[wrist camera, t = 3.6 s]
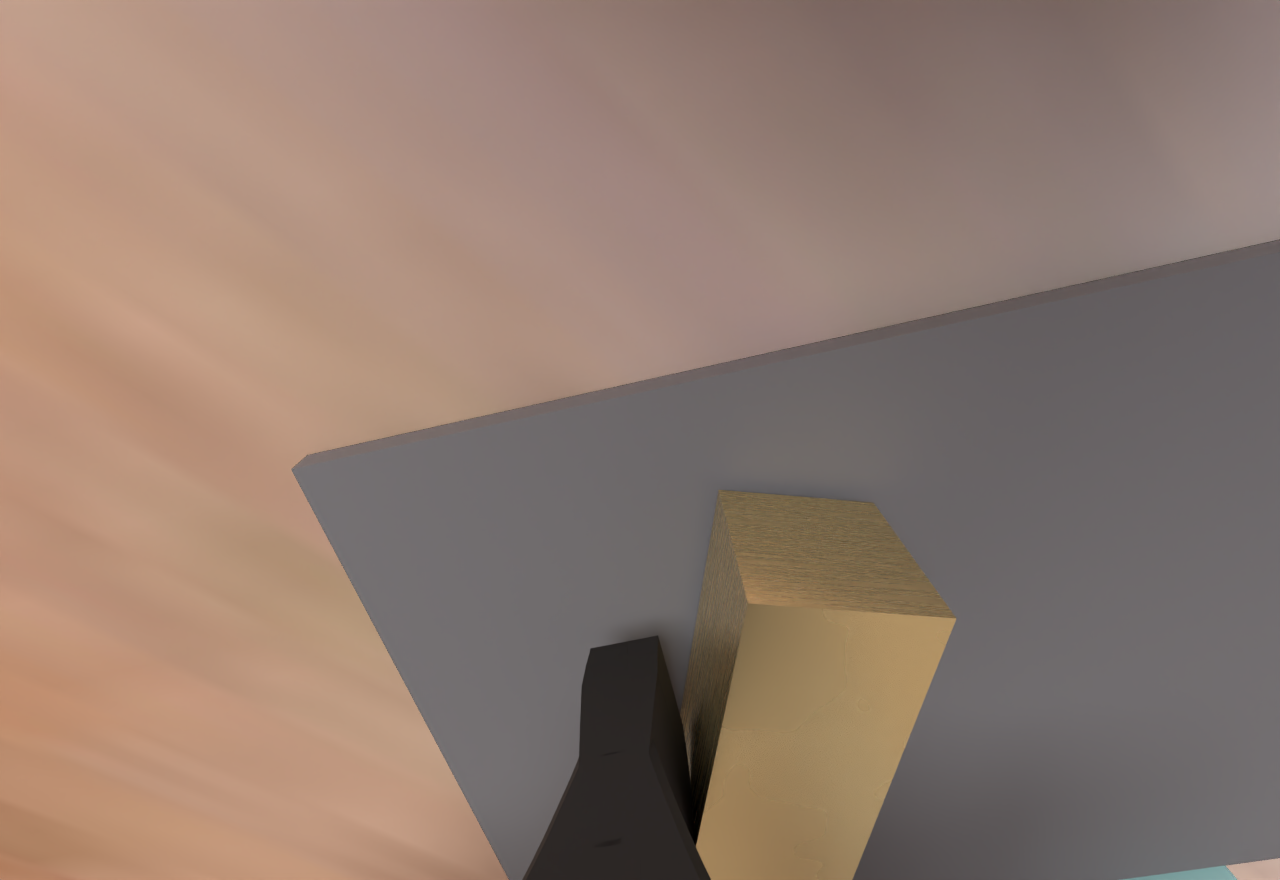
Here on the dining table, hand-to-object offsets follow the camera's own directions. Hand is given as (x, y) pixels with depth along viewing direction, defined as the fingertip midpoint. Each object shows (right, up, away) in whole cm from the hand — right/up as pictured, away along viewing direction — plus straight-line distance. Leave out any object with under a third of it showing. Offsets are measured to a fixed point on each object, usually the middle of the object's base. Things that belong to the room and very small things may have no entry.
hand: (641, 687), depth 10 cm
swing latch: (+2, -3, +2) cm, 4 cm away
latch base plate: (+4, -1, +2) cm, 5 cm away
